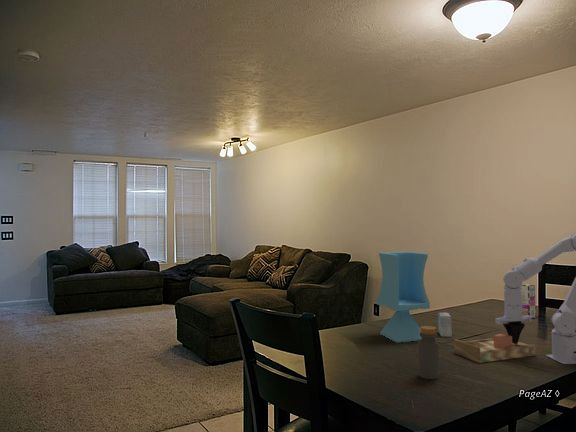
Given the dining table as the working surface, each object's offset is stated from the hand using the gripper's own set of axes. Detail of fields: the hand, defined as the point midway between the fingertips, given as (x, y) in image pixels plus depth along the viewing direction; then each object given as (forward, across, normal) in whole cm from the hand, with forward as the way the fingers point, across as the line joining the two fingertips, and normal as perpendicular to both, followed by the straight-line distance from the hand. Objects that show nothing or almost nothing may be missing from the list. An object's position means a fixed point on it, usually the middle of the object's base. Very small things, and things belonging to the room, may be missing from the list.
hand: (514, 343), depth 159 cm
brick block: (+1, +5, 0) cm, 5 cm away
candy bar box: (+4, -55, -49) cm, 74 cm away
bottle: (+4, +42, +9) cm, 43 cm away
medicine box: (+4, +4, -33) cm, 33 cm away
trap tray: (+4, +6, -3) cm, 8 cm away
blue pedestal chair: (+4, +23, -35) cm, 42 cm away
